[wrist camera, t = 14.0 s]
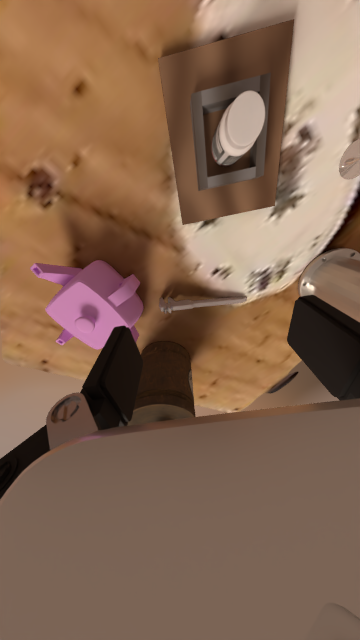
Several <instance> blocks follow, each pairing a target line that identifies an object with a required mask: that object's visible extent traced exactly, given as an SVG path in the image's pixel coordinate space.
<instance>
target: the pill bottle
mask: <svg viewBox="0 0 360 640" xmlns="http://www.w3.org/2000/svg"><path fill="white" fill-rule="evenodd" d="M264 120H265V106H264V102H263V99H262V98H261V96H260V95H259V94H258V93H257V92H255V91H245V92H243V93H241V94H240V95H239V96H238V97H237V98H236V99H235V100H234V102H232V103H231V104H230V105H229V106H228V108H227V109H226V111H225V112H224V114H223V116H222V118H221V120H220V123H219V125H218V127H217V129H216V131H215V133H214V136H213V139H212V144H211V150H212V155H213V158H214V160H215V161H216V162H217V163H218V164H219V165H221V166H230V165H232V164H233V163H235V162H236V161H237V160H238V159H239V158H241V157H242V156H243V155H244V154H245V153H246V152H247V151H248V150H249V149H250V148H251V147H252V146H253V144H254V142H255V141H256V139H257V137H258V135H259V134H260V132H261V130H262V127H263V124H264Z"/></svg>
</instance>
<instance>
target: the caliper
mask: <svg viewBox="0 0 360 640" xmlns="http://www.w3.org/2000/svg"><path fill="white" fill-rule="evenodd" d="M246 299H247V297H229V298H218V299H207V300H196V301H190V300H181V301H177V302H176V301H174V300H173V299H172V298H170V297H168V303H165V302H164V300H163V298H160V302H159V306H160V309H161V312H162V311H164V312H165V314H166V313H167V311H168V312H169V313H171V310H172V311H174V310H184V309H192V308H194V307H204V306H215V305H225V304H235V303H242V302H245V301H246Z"/></svg>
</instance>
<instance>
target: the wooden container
mask: <svg viewBox="0 0 360 640" xmlns="http://www.w3.org/2000/svg"><path fill="white" fill-rule="evenodd" d="M141 357H142V359H143V368H142V373H141V378H140V382H139V387H138V392H137V396H136V401H135V406H134V410H133V415H132V419H131V421H129V422H128V426H129V425H137V424H144V423H151V422H159V421H167V420H175V419H184V418H192V417H195V409H194V397H193V383H192V372H191V363H190V357H189V354H188V352H187V351H186V349H185V348H183V347H182V346H180V345H178V344H176V343H173V342H165V341H163V342H156V343H153V344H151V345H149V346H147V347H146V348H145V349H144V350H143V352H142V353H141Z"/></svg>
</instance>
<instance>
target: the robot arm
mask: <svg viewBox="0 0 360 640" xmlns="http://www.w3.org/2000/svg"><path fill="white" fill-rule="evenodd" d="M298 292H299V295H300V297H299V298H298V300H296V301H295V305H294V309H293V314H292V319H291V323H290V328H289V333H288V337H287V341H288V344H289V345H290V346H291V347H292V349H293V350H294V351H295V352H296V353H297V354H298V356H299V357H300V358H301V359H302V360H303V361H304V363H305V364H306V365H307V366H308V367H309V369H310V370H311V371H312V372H313V373H314V374H315V375H316V377H317V378H318V379H319V380H320V381H321V383H322V384H323V385H324V386H325V387H326V388H327V390H328V391H329V392H330V393H331V394H332V395H333V396H334V397H337V398H338V399H339V400H340V401H332V402H322V403H314V404H304V405H295V406H286V407H277V408H269V409H260V410H251V411H243V412H234V413H225V414H217V415H209V416H200V417H192V418H184V419H175V420H167V421H159V422H151V423H144V424H137V425H129V426H127V425H128V422H129V421H131V419H132V415H133V410H134V406H135V401H136V396H137V392H138V387H139V382H140V378H141V373H142V368H143V359H142V357H141V355H140V352H139V350H138V347H137V345H136V343H135V340H134V338H133V336H132V333H131V331H130V329H129V328H128V327H127V328H126V326H118V327H114V328H113V330H112V332H111V334H110V336H109V338H108V340H107V341H106V343H105V345H104V347H103V349H102V351H101V353H100V355H99V356H98V358H97V360H96V362H95V364H94V366H93V368H92V370H91V371H90V373H89V375H88V377H87V379H86V381H85V383H84V385H83V386H82V387H83V389H82V390H81V392H80V393H72V394H69V395H67V396H65V397H63V398H62V399H61V400H59V401H58V402H57V403H56V404H55V405H54V406H53V407H52V409H51V410H50V411H49V413H48V416H47V419H46V425H45V426H44V427H42V428H41V429H40V430H38V431H37V432H36V433H34V434H33V435H32V436H30V437H29V438H28V439H26V440H25V441H24V442H22V443H21V444H20V445H18V446H17V447H16V448H14V449H13V450H12V451H10V452H9V453H8V454H6V455H5V456H4V457H2V458H1V459H0V640H360V253H358V252H357V251H355V250H353V249H348V248H337V249H333V250H330V251H327V252H325V253H323V254H321V255H320V256H318V257H317V258H316V259H314V260H313V261H312V262H311V263H310V264H309V265H308V266H307V268H306V269H305V270H304V272H303V273H302V275H301V277H300V280H299V283H298Z"/></svg>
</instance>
